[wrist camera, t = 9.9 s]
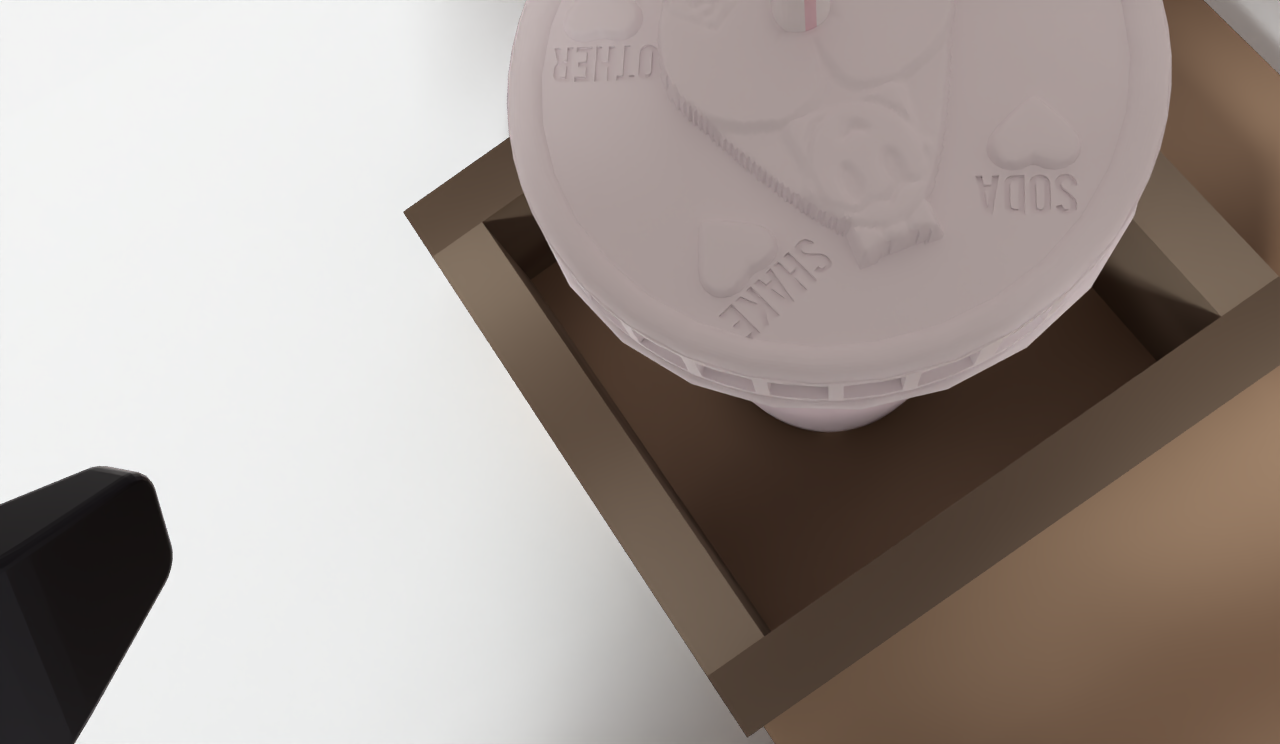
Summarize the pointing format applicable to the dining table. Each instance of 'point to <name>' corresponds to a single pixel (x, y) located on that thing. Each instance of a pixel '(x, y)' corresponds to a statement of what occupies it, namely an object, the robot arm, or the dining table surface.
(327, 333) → the dining table surface
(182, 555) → the dining table surface
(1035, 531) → the holder
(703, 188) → the smoothie
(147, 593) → the robot arm
